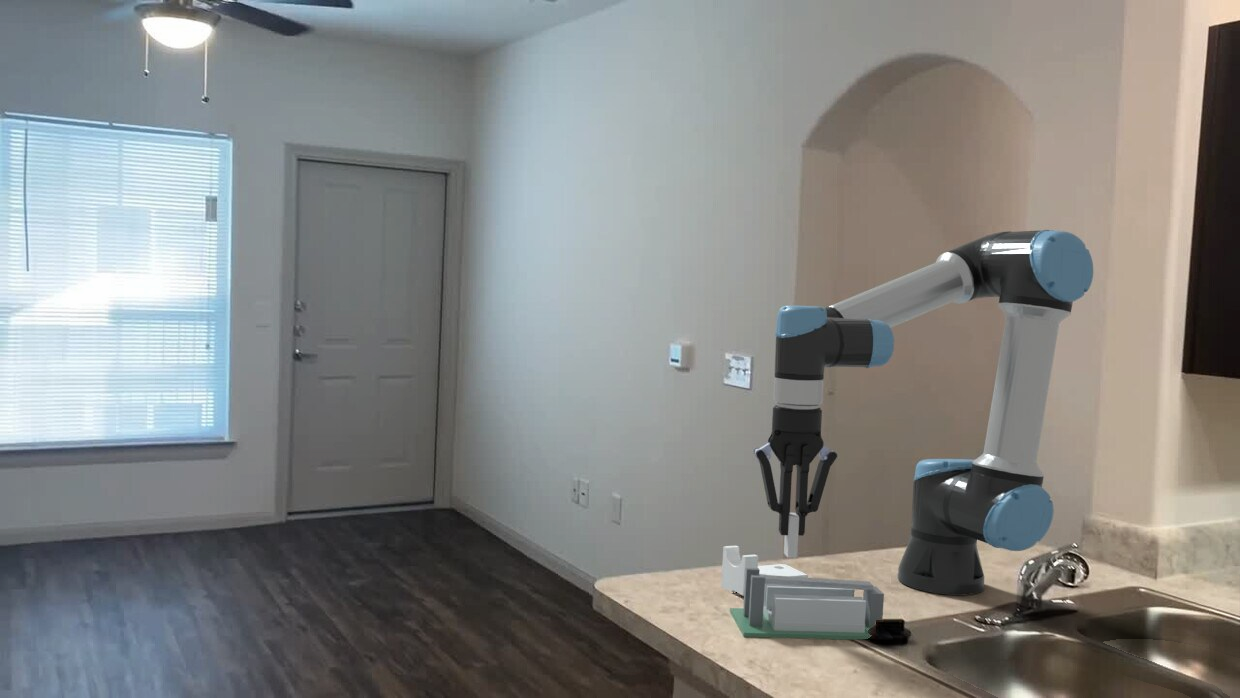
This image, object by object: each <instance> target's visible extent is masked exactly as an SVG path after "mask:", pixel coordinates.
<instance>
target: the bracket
mask: <svg viewBox="0 0 1240 698" xmlns="http://www.w3.org/2000/svg"><path fill="white" fill-rule="evenodd" d="M722 549H723V550H722V563H721V564H722V565H721V567H722V568H721V579H720V580H721V581H720V582H721V583H720V587H723V588H725V589H727V590H729V591H731V592H737V593H736V594H738V595H741V596H743V597H744V590H745V573H746V568H759V570H760V571H759V575H775V576H791V577H806V578H809V577H808V576H809V575H808V574H807V573H805V572H803V571H801V570H798V569H796V568H794V567H792V566H790V565H788V564H785V563H780V564H779V563H778V564H769V565H767V564H766V565H759V555H757V554H747V555H746V554H744V555H740V546H738V545H726V546H723V547H722ZM723 588H722V589H723Z"/></svg>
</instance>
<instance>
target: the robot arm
mask: <svg viewBox="0 0 1240 698" xmlns="http://www.w3.org/2000/svg"><path fill="white" fill-rule="evenodd" d="M1093 263H1094V262H1093V258H1092V256H1091V252H1090V250H1089V249H1087V247H1086V243H1085V242H1084V241H1083V240H1082V239H1081V238H1080V237H1079V236H1077V235H1075V234H1074V233H1071V232H1070V231H1069V232H1068V231H1064V230H1062V231H1061V230H1052V229H1051V230H1050V229H1043V230H1042V229H1041V230H1022V231H1000V232H995V233H992V234H988V235H986V236H982V237H980V238H977V239H975V240H973V241H970V242H967V243H965V244H963V245H960V246H958V247H955V248H953V249H951V250H949V251H946V252H944V253H941V254H940V255H939V256H938V257H937V258H936V260H935V262H934V263H932V264H930V265H926V266H924V267H922V268H919V269H917V270H915V271H913V272H909V273H907V274H904V275H902V276H900V277H897V278H895V279H892V280H889V281H887V282H885V283H882V284H880V285H877V286H874V287H873V288H871V289H868V290H865V291H863V292H860V293H858V294H855V295H854V296H851V297H848V298H845V299H844V300H841V301H839V302H836V303H834V304H831V305H829V306H826V307H824V306H818V305H817V306H816V305H793V304H792V305H789V304H788V305H784V306H783V305H782V306H781V307H780V309H779V310H778V313H777V319H776V326H775V327H776V329H775V335H774V336H775V351H774V353H775V355H774V356H775V357H774V381H773V397H772V401H773V402H774V403H776V405H774V406H773V407H772V418H771V420H772V423H771V433H770V435H769V437H768V440H767V443H766V444H764V445H762V446H761V447H760V448H759V447H756V448H754V449H753V454H754V456H755V458H756V459H757V461H758V462H759V466H760V467H759V468H760V470H761V477H762V482H763V485H764V486H763V487H764V492H765V496H766V498H765V499H766V502H767V506H768V507H769V509H771V511H773V512H776V513H778V515H779V516H778V517H779V518H778V533H779V535H781V536H784V542H783V554H784V555H785V556H786V557H787V558H788V559H797V558H798V547H799V545H798V544H799V536H801V537H802V536H804V535H805V532H806V517H807V516H808V515H809V514H810V513H816V512H818V509H819V507H820V503H821V500H822V496H823V492H824V490H825V486H826V482H827V479H828V475H829V473H830V470H831V466H832V465H833V463H834V462H835V461H836V459H837V458H838V453H836V452H835V451H834V450H832V449H829V448H828V447H827V446H825V445H824V444H825V443H824V440H823V437H822V416H823V415H822V414H823V410H822V409H821V408H820V407H819V406H821V405H822V404H823V401H824V400H823V398H824V396H823V395H824V374H825V368H831V367H833V368H834V367H835V368H865V369H869V368H873V367H875V368H876V367H883V366H885V365H886V364H887V363H888V362H889V361H890V360H891V358H892V357H893V353H894V350H895V349H894V348H895V347H894V346H895V344H894V343H895V337H894V333H893V331H892V328H893V327H896V326H898V325H901V324H904V323H905V322H907V321H911V320H913V319H915V318H917V317H920V316H922V315H924V314H927V313H929V312H932V311H934V310H936V309H938V308H941V307H943V306H946V305H948V304H950V303H951V304H952V303H955V304H958V305H959V304H960V305H961V304H962V305H963V304H965V303H968V302H970V301H973V300H976V299H982V298H998V299H999V300H998V307H999V309H1000V310H1002V312H1003V313H1004V315H1005V320H1004V327H1003V333H1002V338H1001V344H1000V351H999V356H998V362H997V369H996V375H995V381H994V388H993V394H992V398H991V406H990V411H989V416H988V417H989V418H988V424H987V430H986V436H985V441H984V448H983V453H982V454H981V455H980V456H978V457H977V458H975V459H966V458H959V459H958V458H928V459H927V458H926V459H921V460H920V461H918V463H917V464H916V466H915V472H914V477H913V481H912V482H913V488H912V491H913V492H912V508H911V525H910V538H909V541H908V543H907V546H906V548H905V550H904V553H903V556H902V557H901V560H900V562H899V564H898V573H897V580H898V581H899V582H900V583H901V584H904V585H905V586H908V587H910V588H913V589H916V590H919V591H923V592H928V593H931V594H932V593H933V594H934V593H935V594H939V595H952V596H969V595H970V596H971V595H976V594H979V593H982V592H983V591H984V590H985V575H984V569H983V567H982V562H981V559H980V554H979V551H978V544H977V543H978V541H980V542H983V543H986V544H988V545H990V546H991V547H993V548H996V549H1004V550H1007V551H1010V552H1023V551H1026V550H1028V549H1030V548H1033V547H1034V546H1036V544H1037V542H1040V541H1042V540H1043V538H1044V537H1045V536H1046V534H1048V531H1049V530H1050V527H1051V524H1052V522H1053V518H1054V513H1055V512H1054V511H1055V509H1054V502H1053V500H1051V495H1050V494H1049V492H1048V491H1046V489H1044V488H1043V484H1044V476H1045V475H1044V472H1043V471H1042V470H1041V468H1040V467H1039V466H1038V464H1037V461H1038V460H1037V459H1038V455H1039V449H1040V440H1041V435H1042V429H1043V423H1044V417H1045V411H1046V406H1047V400H1048V395H1049V389H1050V387H1049V386H1050V382H1051V376H1052V369H1053V363H1054V358H1055V352H1056V351H1055V350H1056V345H1057V340H1058V333H1059V327H1060V323H1061V322H1063V321H1064V320H1065V319H1066V318H1068V317H1069V316H1070V315H1071V314H1072V308H1073V302H1075V301H1078V300H1080V299H1081V298H1083V297H1084V296H1085V293H1087V292H1088V291H1089V290H1090V287H1091V286H1092V283H1093V279H1094V264H1093ZM771 452H773V454H774V455H775V456H776V457H775V458H777V460H778V462H780V463H779V465H780V468H779V469H780V477H779V478H780V479H779V480H780V481H779V499H778V496H777V490H776V487H775V480H774V476H773V470H772V466H771V463H770V459H771V458H772V455H771ZM817 455H819V456H818V458H819V459H820V460H819V462H818V465H817V467H816V470H815V474H814V478H813V481H812V484H811V489H810V492H809V495H808V488H809V487H808V486H809V472H810V464H811V463H812V462H813V460H814V459H815V458H816V457H817ZM794 466H796V467H795V468H796V483H795V484H796V485H795V505H794V509H795V512H791V501H792V500H791V499H792V496H791V495H792V480H793V479H792V476H793V470H794Z"/></svg>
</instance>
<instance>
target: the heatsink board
mask: <svg viewBox="0 0 1240 698" xmlns="http://www.w3.org/2000/svg"><path fill="white" fill-rule="evenodd" d="M759 571H760V570H759V568H746V573H745V590H744V596H743V607H741V608H740V607H737V608H736V607H730V608H729V613H730V615H731V616H732V618H733V620H734V622H735V624H736V626H737V627H738V629H739V631H740V632H741V635H742V636H743V637H744V638H777V639H779V638H781V639H783V638H784V639H815V640H816V639H817V640H819V639H823V640H852V639H868V638H870V637H871V636H872V635H870V634H869V633H868V630H869V629H870V628H872V627H874V625H875V621H876V620H882V621H883V616H884V615H883V613H884V602H885V601H884V600H885V598H884V597H885V593H884V592H882V590H881V589H880V588H878V586H874V585H873V591H872V590H862V592H863V594H862V596H855V589H840V588H824V587H808V586H793V585H777V584H765V577H764V576H753V575H751V574H759ZM750 578H751V579H750Z"/></svg>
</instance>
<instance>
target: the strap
mask: <svg viewBox="0 0 1240 698" xmlns="http://www.w3.org/2000/svg"><path fill="white" fill-rule="evenodd" d="M751 575H753V576H764V577H765V584H777V585H793V586H808V587H824V588H840V589H854V590H856V591H857V590H858V591H859V590H860V591H861V590H862V591H864V590H872V591H873V586H874V585H873V583H871V582H870V581H867V580H850V579H849V580H848V579H835V578H819V577H807V578H806V577H791V576H775V575H759V574H751ZM750 579H751V578H750Z"/></svg>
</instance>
